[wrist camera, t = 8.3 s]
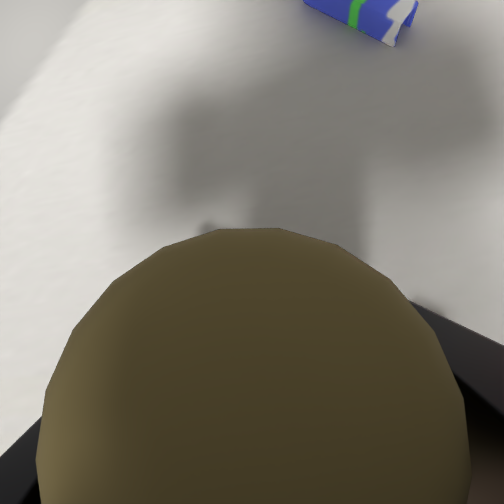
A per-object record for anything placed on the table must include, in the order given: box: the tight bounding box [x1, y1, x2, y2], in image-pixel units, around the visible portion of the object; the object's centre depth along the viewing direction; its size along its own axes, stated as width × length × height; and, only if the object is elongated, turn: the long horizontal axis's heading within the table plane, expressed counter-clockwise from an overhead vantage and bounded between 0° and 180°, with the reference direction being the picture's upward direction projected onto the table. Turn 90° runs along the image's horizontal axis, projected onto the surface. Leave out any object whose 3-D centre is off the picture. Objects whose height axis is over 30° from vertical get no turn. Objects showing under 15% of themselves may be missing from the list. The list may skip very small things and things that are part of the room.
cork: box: [35, 228, 472, 504], centre depth 10 cm, size 6×6×11 cm
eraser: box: [303, 0, 418, 47], centre depth 25 cm, size 2×6×2 cm, turn 53°
